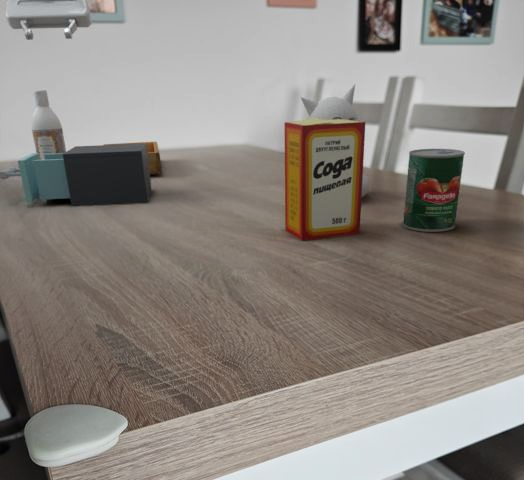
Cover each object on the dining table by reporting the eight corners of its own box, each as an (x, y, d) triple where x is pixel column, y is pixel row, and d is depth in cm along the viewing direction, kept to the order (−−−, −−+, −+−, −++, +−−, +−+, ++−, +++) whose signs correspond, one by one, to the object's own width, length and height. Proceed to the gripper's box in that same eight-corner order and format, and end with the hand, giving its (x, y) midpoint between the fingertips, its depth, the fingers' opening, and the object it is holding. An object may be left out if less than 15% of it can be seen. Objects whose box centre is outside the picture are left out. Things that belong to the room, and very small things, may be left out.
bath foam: (37, 180, 136) (19, 91, 127) (46, 176, 142) (29, 90, 133) (66, 179, 136) (50, 90, 127) (73, 175, 142) (58, 89, 133)
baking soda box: (339, 223, 89) (343, 116, 82) (359, 233, 83) (365, 118, 76) (285, 230, 86) (284, 119, 79) (302, 240, 81) (302, 122, 74)
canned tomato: (429, 235, 82) (438, 156, 77) (392, 224, 88) (397, 151, 83) (466, 226, 85) (476, 151, 80) (427, 217, 91) (434, 147, 86)
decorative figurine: (303, 208, 100) (304, 86, 91) (284, 193, 113) (283, 85, 104) (380, 202, 103) (388, 83, 94) (353, 188, 115) (358, 82, 107)
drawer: (1, 203, 106) (-9, 161, 103) (17, 192, 117) (9, 153, 113) (97, 199, 108) (90, 157, 105) (105, 188, 118) (99, 150, 115)
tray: (106, 163, 161) (103, 142, 158) (158, 160, 163) (156, 139, 161) (99, 180, 134) (95, 155, 131) (162, 176, 136) (159, 152, 134)
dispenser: (71, 205, 107) (62, 153, 103) (83, 193, 119) (75, 146, 114) (147, 202, 109) (141, 150, 104) (151, 190, 120) (146, 143, 116)
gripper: (2, -16, 136) (0, 26, 132) (87, -18, 138) (87, 24, 134) (12, 7, 142) (9, 48, 138) (93, 5, 144) (93, 46, 140)
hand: (48, 37), depth 136 cm, fingers open, 8 cm apart
